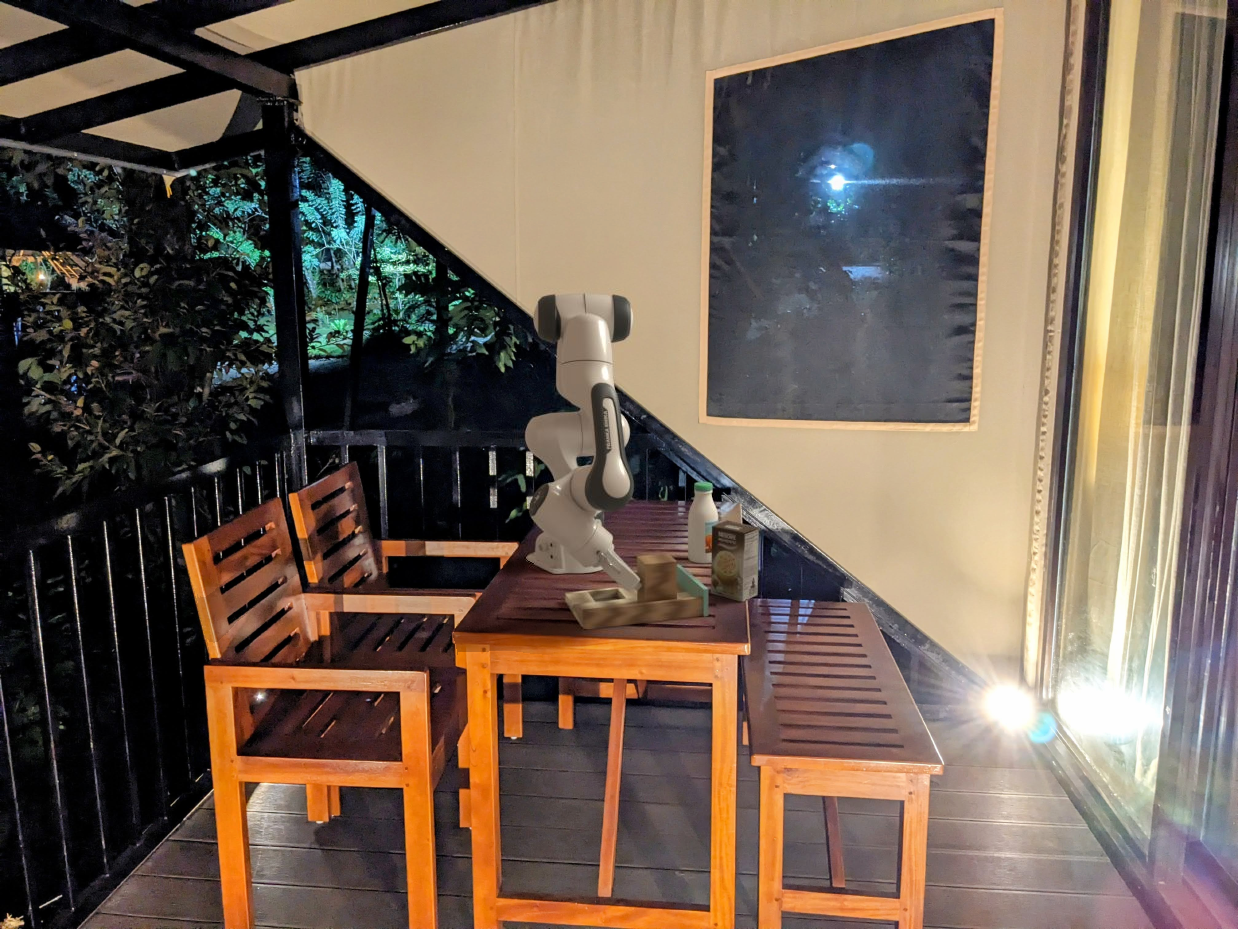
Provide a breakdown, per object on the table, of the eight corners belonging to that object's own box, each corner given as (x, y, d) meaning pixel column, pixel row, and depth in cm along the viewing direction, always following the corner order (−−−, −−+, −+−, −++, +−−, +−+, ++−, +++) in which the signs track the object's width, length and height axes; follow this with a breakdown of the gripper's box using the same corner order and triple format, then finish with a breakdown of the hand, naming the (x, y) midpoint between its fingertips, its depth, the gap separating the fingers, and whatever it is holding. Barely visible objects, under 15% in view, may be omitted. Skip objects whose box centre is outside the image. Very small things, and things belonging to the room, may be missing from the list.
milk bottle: (694, 565, 227) (694, 487, 223) (683, 557, 234) (683, 481, 230) (723, 562, 229) (723, 485, 225) (711, 554, 236) (711, 479, 232)
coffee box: (709, 593, 206) (709, 525, 203) (725, 586, 210) (726, 519, 207) (743, 602, 200) (743, 532, 197) (759, 595, 204) (760, 526, 201)
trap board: (583, 629, 185) (583, 611, 184) (565, 601, 202) (564, 584, 202) (703, 615, 192) (703, 597, 191) (675, 589, 209) (675, 572, 208)
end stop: (703, 616, 192) (703, 589, 190) (675, 590, 209) (675, 565, 208) (708, 615, 192) (708, 588, 191) (679, 589, 209) (679, 564, 208)
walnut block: (645, 610, 190) (645, 564, 188) (637, 601, 196) (636, 556, 194) (677, 606, 192) (676, 561, 190) (668, 597, 198) (667, 553, 196)
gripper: (615, 548, 178) (663, 590, 183) (590, 522, 197) (634, 561, 202) (594, 571, 178) (642, 613, 182) (571, 544, 197) (615, 582, 202)
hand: (637, 586), depth 192 cm, fingers closed, pressing on walnut block
